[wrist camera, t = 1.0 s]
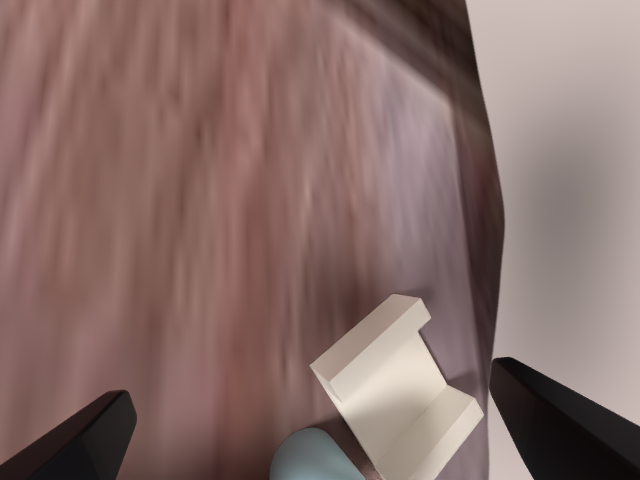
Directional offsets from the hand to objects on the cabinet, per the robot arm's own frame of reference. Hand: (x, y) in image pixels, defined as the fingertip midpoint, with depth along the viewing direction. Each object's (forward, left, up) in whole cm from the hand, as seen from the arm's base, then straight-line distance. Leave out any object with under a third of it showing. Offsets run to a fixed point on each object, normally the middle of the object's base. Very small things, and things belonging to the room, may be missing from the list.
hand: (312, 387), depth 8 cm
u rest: (+5, -11, -12) cm, 17 cm away
